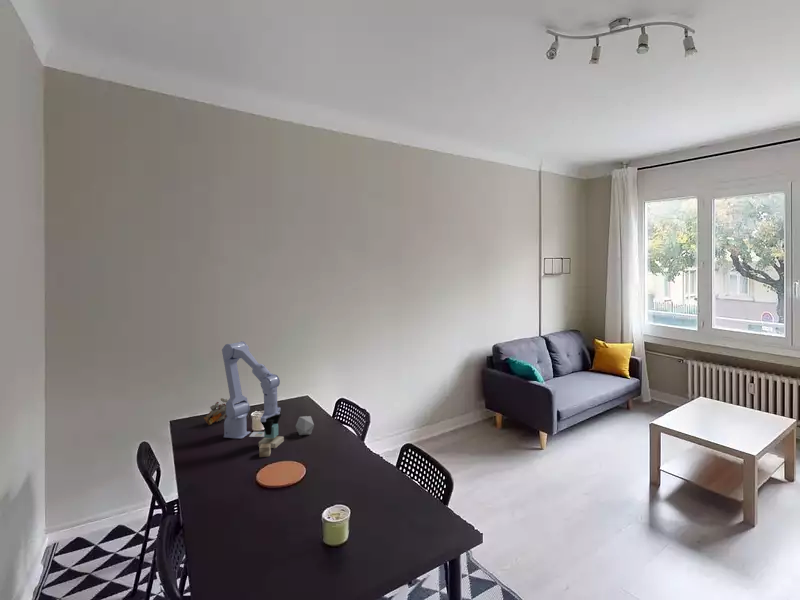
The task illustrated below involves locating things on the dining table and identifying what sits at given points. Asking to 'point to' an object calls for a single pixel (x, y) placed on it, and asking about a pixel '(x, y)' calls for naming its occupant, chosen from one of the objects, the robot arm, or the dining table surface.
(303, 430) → the die
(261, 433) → the blueprint card
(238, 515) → the dining table surface
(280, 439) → the birch slab
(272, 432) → the teal cube
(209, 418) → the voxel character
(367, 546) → the dining table surface
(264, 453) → the block
